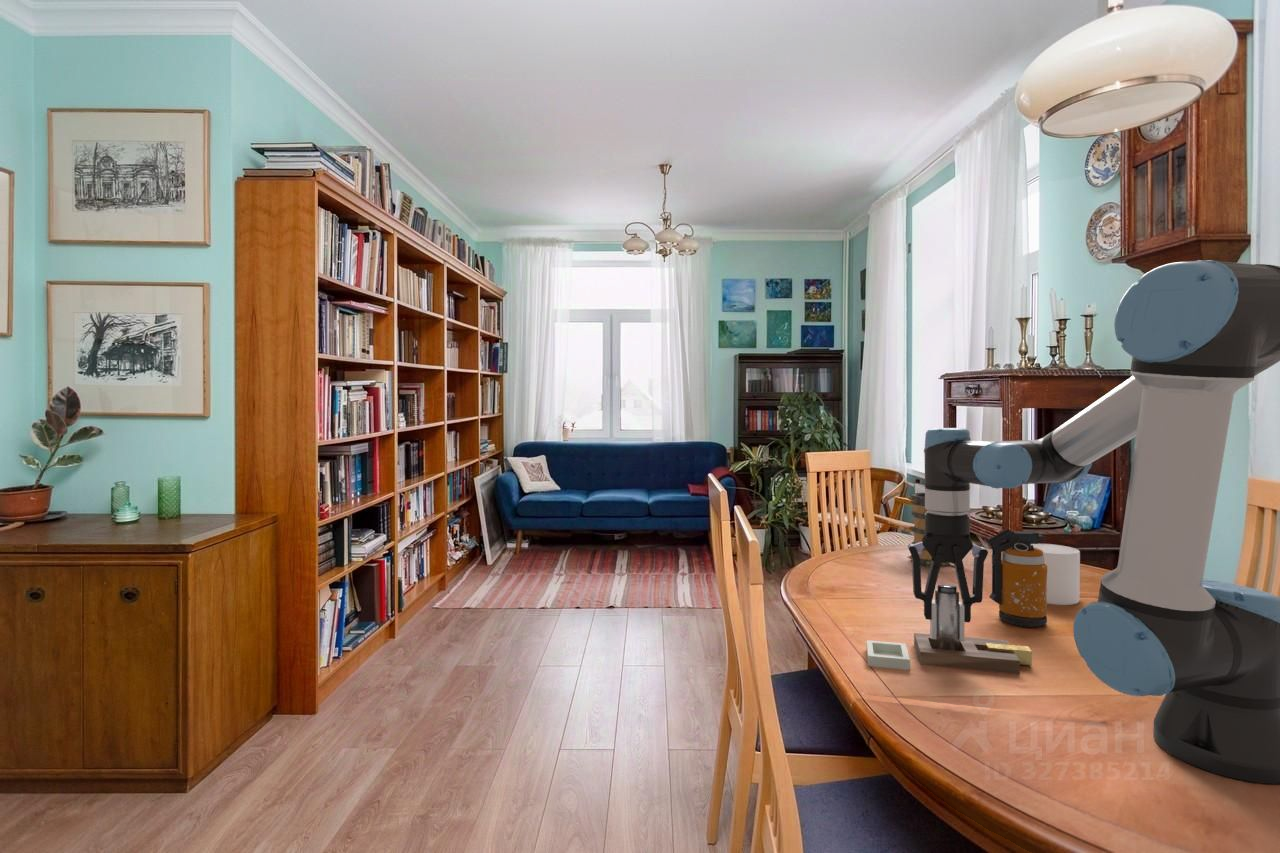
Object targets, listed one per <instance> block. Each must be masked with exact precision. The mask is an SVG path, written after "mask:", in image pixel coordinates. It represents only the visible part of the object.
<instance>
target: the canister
mask: <svg viewBox="0 0 1280 853" xmlns="http://www.w3.org/2000/svg"><path fill="white" fill-rule="evenodd" d="M1039 541H1040V542H1043V541H1045V536H1044V535H1042V534H1039V533H1038V532H1037V531H1035V530H1029V531H1021V530H1019V531H1016V530H1014V531H1013V530H1011V529H1010V528H1007V529H1005V530H1003V531H1002V532H1000V533H998V534H996V535H994V536H993V537H990V538H989V539H988V542H989V545H990V547H991V549H992V550H991V551H992V554H991V566H992V569H991V594H989V598H990V599H991V600H992V601H994V602H995V603H996V604H998V608H999V610H998V616H999V618H1000V619H1002V620H1003V621H1006V622H1008V624H1011V625H1015V626H1019V627H1025V628H1026V627H1027V628H1034V627H1035V628H1036V627H1039V626H1044V625H1046V624H1047V623H1048V616H1047V615H1048V604H1047V565H1046V564H1045V562H1044V554H1043V551H1042V550H1040V549H1038V548H1034V547H1033V545H1031V544H1039Z"/></svg>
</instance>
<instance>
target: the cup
mask: <svg viewBox="0 0 1280 853" xmlns="http://www.w3.org/2000/svg"><path fill="white" fill-rule="evenodd" d="M1031 545H1033V547H1034V548H1038V549H1040V550H1042V551H1043V554H1044V562H1045V564H1046V565H1047V605H1055V606H1072V605H1077V604H1078V603H1080V591H1081V590H1080V585H1081V583H1080V578H1081V574H1080V573H1081V572H1080V571H1081V564H1080V563H1081V551H1080V550H1079V549H1077V548H1074V547H1072V546H1065V545H1063V544H1062V545H1061V544H1054V543H1053V544H1052V543H1038V544H1031Z"/></svg>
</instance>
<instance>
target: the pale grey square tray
mask: <svg viewBox="0 0 1280 853" xmlns="http://www.w3.org/2000/svg"><path fill="white" fill-rule="evenodd" d="M866 658H867V666H868V667H874V668H875V667H876V668H885V669H894V670H895V669H896V670H907V671H911V658H910V655H909V651H908V648H907V644H906V643H904V642H903V643H902V642H891V641H878V640H869V639H868V640H866Z"/></svg>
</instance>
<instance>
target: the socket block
mask: <svg viewBox="0 0 1280 853" xmlns="http://www.w3.org/2000/svg"><path fill="white" fill-rule="evenodd" d="M913 638H914V639H913V646H914V648H915V652H916V656H917V658H918V661H919V664H920V665H921V666H930V667H931V666H932V667H943V668H952V669H960V670H963V669H964V670H972V671H973V670H975V671H983V672H994V673H995V672H997V673H1005V674H1014V675H1015V674H1017V675H1020V674H1021V664H1020V660H1019V659H1018V657H1017V656H1016V654H1015V653H1006V652H995V651H985V646H986V643H992V644H1004V645H1010V644H1009V643H1008V641H1007V639H1006V640H1002V639H995V638H994V639H992V638H991V639H990V638H981V637H979V638H978V637H967V636H964V641H960V640H959V651H954V650H943V649H935V639H932V638H931V635H930V633H920V632H919V633H917V632H915V633H913Z"/></svg>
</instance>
